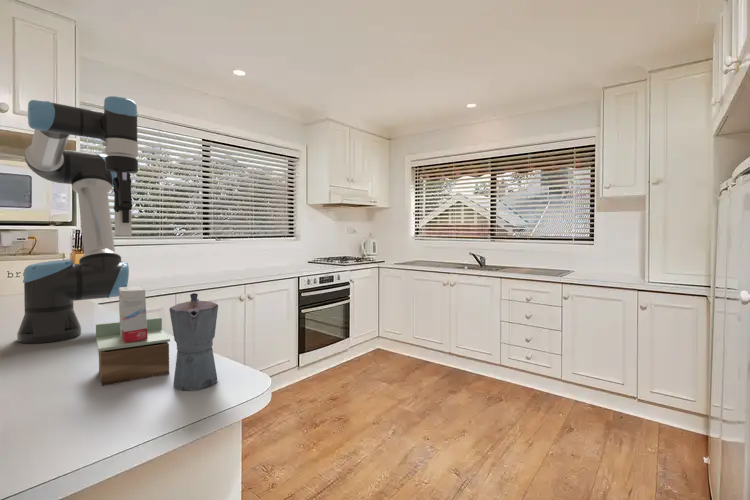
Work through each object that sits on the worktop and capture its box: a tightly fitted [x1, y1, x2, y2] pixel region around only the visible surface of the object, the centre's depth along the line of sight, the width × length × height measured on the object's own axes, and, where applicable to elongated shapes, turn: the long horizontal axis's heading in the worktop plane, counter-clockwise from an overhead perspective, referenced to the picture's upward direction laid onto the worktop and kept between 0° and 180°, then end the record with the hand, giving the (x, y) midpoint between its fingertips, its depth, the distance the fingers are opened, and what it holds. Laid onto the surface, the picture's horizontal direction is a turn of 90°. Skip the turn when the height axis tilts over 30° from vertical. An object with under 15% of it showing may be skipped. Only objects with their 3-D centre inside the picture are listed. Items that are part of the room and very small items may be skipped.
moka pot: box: [169, 292, 219, 392], centre depth 87 cm, size 10×15×20 cm, turn 27°
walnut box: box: [98, 342, 170, 387], centre depth 93 cm, size 11×13×7 cm
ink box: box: [118, 285, 148, 343], centre depth 93 cm, size 9×5×12 cm, turn 37°
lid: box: [95, 316, 171, 353], centre depth 94 cm, size 12×14×4 cm
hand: (122, 235), depth 109 cm, fingers open, 13 cm apart
